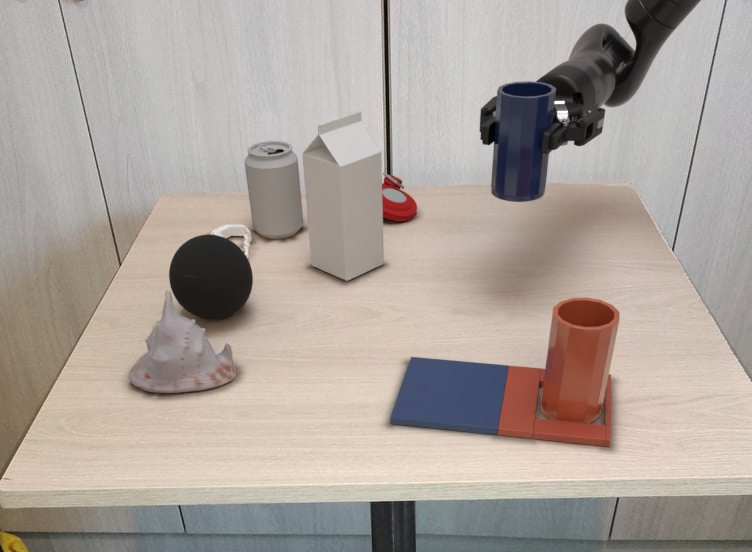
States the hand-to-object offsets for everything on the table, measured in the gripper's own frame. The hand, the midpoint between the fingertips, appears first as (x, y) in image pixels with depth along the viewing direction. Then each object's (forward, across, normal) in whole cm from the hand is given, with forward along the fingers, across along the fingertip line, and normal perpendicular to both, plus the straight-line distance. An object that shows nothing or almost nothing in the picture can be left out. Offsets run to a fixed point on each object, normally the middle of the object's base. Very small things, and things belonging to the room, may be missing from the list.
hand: (515, 139), depth 89 cm
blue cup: (-2, 0, +6) cm, 7 cm away
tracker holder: (-20, -27, +20) cm, 39 cm away
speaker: (+19, -31, +20) cm, 41 cm away
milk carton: (-1, -23, +20) cm, 30 cm away
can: (-6, -38, +20) cm, 43 cm away
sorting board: (+20, +8, +20) cm, 29 cm away
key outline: (+2, -40, +20) cm, 45 cm away
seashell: (+31, -26, +20) cm, 45 cm away
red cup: (+18, +15, +20) cm, 31 cm away
